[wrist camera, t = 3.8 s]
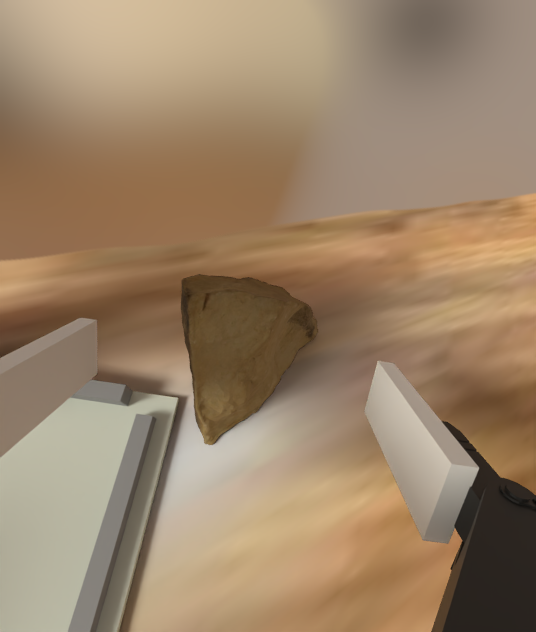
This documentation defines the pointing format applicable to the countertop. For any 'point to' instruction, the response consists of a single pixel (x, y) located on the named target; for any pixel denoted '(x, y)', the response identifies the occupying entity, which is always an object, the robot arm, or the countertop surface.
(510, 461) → the countertop surface
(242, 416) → the rock
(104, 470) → the shelf unit
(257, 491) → the countertop surface
